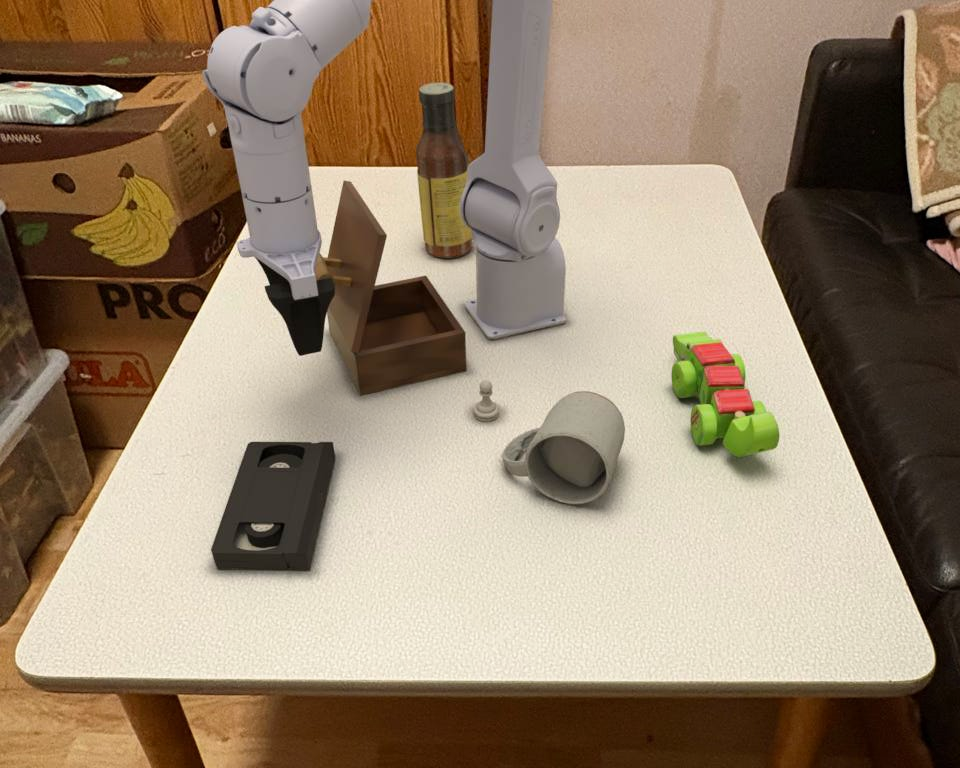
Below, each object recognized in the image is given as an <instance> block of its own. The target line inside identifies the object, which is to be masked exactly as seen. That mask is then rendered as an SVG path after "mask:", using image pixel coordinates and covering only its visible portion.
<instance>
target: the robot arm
mask: <svg viewBox="0 0 960 768" xmlns="http://www.w3.org/2000/svg"><path fill="white" fill-rule="evenodd" d="M373 2H375V0H273V1H272V2H270V3H269V4H268V5H267V6H266V7H262V6H259V7H258V8H257V9H256V10H255V11H253V12H252V13H251V21H250V23H249V24H248V25H241V24H239V26H236V25H232V26H229V27H227V28H226V29H224V30H223V31H221V32H220V33H219V34H218V35H217V36H216V38H215V39H214V40H213V42H212V44H211V46H210V49H209V52H208V54H207V61H206V69H204V70H202V73H201V74H202V77H203V80H204V83H205V85H206V87H207V89H208V90H209V91H210V92H211V94H212V95H213V96H214V97H215V98H216V99H217V100H219V102H220V103H221V104H222V107H223V109H224V113H225V119H226V122H227V126H228V132H229V138H230V143H231V147H232V152H233V157H234V162H235V167H236V173H237V177H238V182H239V187H240V192H241V199H242V204H243V208H244V213H245V218H246V219H245V220H246V223H247V228H248V234H249V237H248V238H246V239H245V238H244V239H241V240H238V241H237V243H236V247H237V251H238V253H239V257H241V258H245V259H246V258H253V257H254V258H255V260H256V261H257V262H258V264H259V265H260V267H261V268H262V270H263V272H264V274H265V276H266V278H267V281H268V284H269V285H268V284H267V285H264V291H265V293H266V296H267V299H268V301H269V302H270V304H271V305H272V307H273V308H274V309H276V311H277V312H278V313H279V315H280V316H281V318H282V319H283V321H284V323H285V325H286V328H287V331H288V334H289V337H290V339H291V343H292V345H293V347H294V349H295V351H296V353H297V354H298V356H300V357H301V356H306V355H311V354H316V353H320V352H322V348H323V343H324V335H325V325H326V324H325V323H326V317H327V310H328V307H329V305H330V303H331V301H332V299H333V297H334V295H335V284H334V282H333V280H332V279H331V278H327V279H321V280H316V276H315V269H316V265H317V261H318V257H319V253H320V254H321V248H322V244H323V242H322V234H321V232H320V230H319V229H318V222H317V214H316V209H315V208H316V207H315V200H314V195H313V194H314V193H313V186H312V182H311V181H312V180H311V174H310V167H309V166H310V165H309V160H308V159H309V158H308V152H307V145H306V138H305V131H304V124H303V117H302V112H304V110H305V108H306V107H307V105H308V103H309V101H310V99H311V96H312V92H313V87H314V83H315V82H316V80H317V79H318V78H319V77H320V74H321V73H320V72H322V70H324V69H325V67H327V66H328V65H329V64H330V63H331V62H332V61H334V59H335V58H337V57H338V56H339V55H340V54H341V53H342V52H343V51H344V50H345V49H346V48H347V47H349V45H351V44H352V43H353V42H354V41H355V40H356V39H357V38H358V37H359V36H361V34H363V33H364V31H365V30H367V29H368V28H369V25H370V21H371V4H372V3H373ZM491 8H492V9H491V29H490V48H489V65H488V81H487V82H488V83H487V84H488V85H487V100H486V101H487V102H486V103H487V104H486V123H485V139H484V140H485V141H484V152H483V153H482V154H481V155H479V156H478V157H476V159H474V160H473V161H471V162H470V163H468V175H467V182H466V185H465V188H464V191H463V193H462V196H461V199H460V209H459V210H460V216H461V219H462V221H463V223H464V224H465V225H466V226H467V227H468V228H470V229H471V239H472V241H474V244H475V283H476V284H475V285H476V287H475V288H476V289H475V290H476V299H471V300H466V301H465V302H464V308H465V309H466V310H467V312H468V313H469V315H470V316H471V317H472V319H473V320H474V322H475V323H476V324H477V326H478V327H479V329H480V330H481V332H482V333H483V334H484V336H485V337H486V338H487V339H488V340H494V339H499V338H504V337H508V336H513V335H517V334H522V333H526V332H530V331H535V330H540V329H544V328H549V327H553V326H558V325H561V324H565V323H567V318H566V316H565V315H564V311H565V310H564V307H565V294H566V293H565V291H566V274H567V273H566V271H567V269H566V259H565V254H564V251H563V247H562V245H561V243H560V241H559V240H558V239H557V234H558V231H559V227H560V223H561V222H560V221H561V211H560V210H561V209H560V206H559V204H558V197H557V196H558V195H557V193H558V181H557V180H556V178H555V176H554V175H553V173H552V172H551V171H550V169H549V168H548V167H547V164H546V163H545V162H544V161H543V158H541V156H540V145H541V136H542V135H541V133H542V123H543V112H544V101H545V92H546V91H545V90H546V80H547V79H546V78H547V67H548V57H549V46H550V34H551V23H552V12H553V0H492V7H491Z"/></svg>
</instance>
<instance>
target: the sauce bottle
mask: <svg viewBox="0 0 960 768" xmlns="http://www.w3.org/2000/svg"><path fill="white" fill-rule="evenodd" d="M454 87H455V86H454V85H452V84H450V83H448V82H431V83H430V82H429V83H426V84H423V85H422V86H420V87H419V89H418V97H419V98H418V99H419V102H420V104H421V112H422V128H423V129H422V132H421V136H420V137H419V140H418V143H417V145H416V147H415V155H416V156H415V157H416V164H417V165H416V166H417V170H416V173H417V174H416V175H417V184H418V195H419V205H420V214H421V216H420V217H421V226H422V236H423V240H424V246H425V247H424V248H425V250H426V252H428V253H429V254H431V255H432V256H435V257H437V258H441V259H442V258H443V259H445V258H446V259H452V258H457V257H462V256H463V255H465V254H467V253H468V252H469V251H470V250H471V249H472V241H473V240H472V239H471V229H470V228H468V227H467V226H466V225H465V224H464V223H463V221H462V219H461V216H460V210H459V209H460V199H461V196H462V193H463V191H464V188H465V185H466V182H467V175H468V166H469V157H468V156H469V155H468V154H467V151H466V148H465V145H464V142H463V140H462V137H461V134H460V131H459V129H458V126H457V122H456V118H455V117H456V116H455V105H454V104H455V100H456V93H455V88H454Z"/></svg>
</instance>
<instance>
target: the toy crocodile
mask: <svg viewBox="0 0 960 768" xmlns="http://www.w3.org/2000/svg"><path fill="white" fill-rule="evenodd" d="M672 346H673V354H674V355H673V356H675V358H676V359H677V361H675V362H674V363H673V365H672V367H671V384H672V388H673V389H672V390H673V392H674V393H675V395H676V397H678V398H679V399H684V398H692V397H694V396H695V395H696V393H697V394H698V398H699V402H700V404H695V405H694V406H693V407H692V409H691V413H690V432H691V436H692V440H693V442H694V444H696V445H698V446H710V445H713V444H714V443H715V442H716V440H717V439H719V438H723V440H722V445H723V447H725V449H726V450H727V451H728V452H729V453H730V454H731V455H733V456H735V457H736V458H737V457H738V458H743V457H747V456H750V455H754V454H758V453H762V452H767V451H770V450H775V449H776V448H777V447H778V445H779V442H780V428H779V425H778V422H777V420H776V418H775V416H774V415H773V413H772V412H771V411H767V407H766V406H765V405H764V402H762V401H761V400H753V399H752V396H751V393H750V390H749V388H745V387H746V386H745V384H746V366H745V361H744V360H743V358H742V356H741V355H740V354H739V353H730V351H729V350H728V348H727V347H726V346H725V344H724V343H723V341H722V339H720V338H715V339H714V338H711V336H709V334H708V332H707V331H699V332H689V333H682V334H680V333H679V334H674V335H673V336H672Z"/></svg>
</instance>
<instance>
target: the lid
mask: <svg viewBox="0 0 960 768" xmlns="http://www.w3.org/2000/svg"><path fill="white" fill-rule="evenodd" d="M387 237H388V235H387V233H386V232H385V230H384V229H383V227H382V225H380V222H379V221H378V220H377V218H376V217H375V215H374V214H373V212H372V211H371V209H370V208H369V206H368V205H367V203H366V202H365V201H364V199H363V197H362V195H361V194H360V193H359V191H358V190H357V188H356V187H355V185H354V184H353V183H352V181H348V180H343V181H342V186H341V191H340V196H339V201H338V205H337V210H336V215H335V220H334V224H333V230H332V234H331V240H330V245H329V248H328V249H329V250H328V252H327V257H325V256H323V255H322V254H321V252H320V253H319V257H318V261H317V265H316V269H315V276H316V280H321V279H327V278H331V279H332V280H333V282H334V284H335V295H334V297H333V299H332V301H331V303H330V305H329V309H330V311H331V313H332V315H333V317H334V319H335V321H336V323H337V325H338V327H339V329H340V331H341V333H342V335H343V337H344V339H345V341H346V343H347V345H348V347H349V349H350V351H351V352H355V353H358V352H359V348H360V344H361V340H362V336H363V332H364V328H365V324H366V319H367V315H368V311H369V307H370V303H371V299H372V295H373V291H374V287H375V286H376V282H377V279H378V274H379V270H380V266H381V261H382V257H383V254H384V249H385V246H386V241H387Z"/></svg>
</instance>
